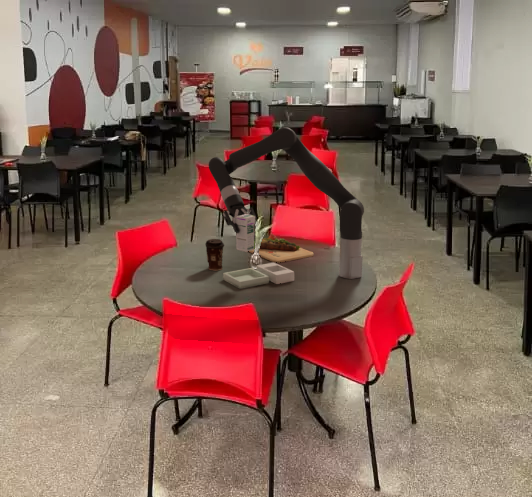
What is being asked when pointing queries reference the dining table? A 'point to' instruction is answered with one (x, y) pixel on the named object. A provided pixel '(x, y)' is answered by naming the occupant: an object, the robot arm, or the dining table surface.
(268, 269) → the holder
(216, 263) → the coffee cup
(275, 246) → the cutting board
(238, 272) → the tray
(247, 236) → the syrup box
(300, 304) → the dining table surface
